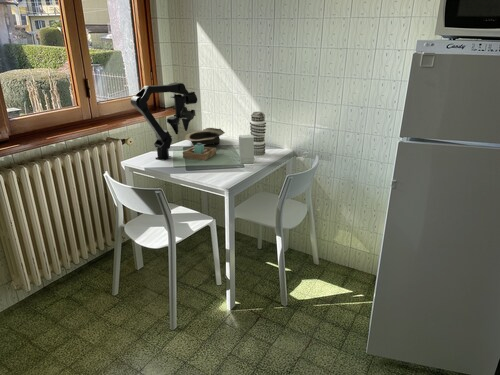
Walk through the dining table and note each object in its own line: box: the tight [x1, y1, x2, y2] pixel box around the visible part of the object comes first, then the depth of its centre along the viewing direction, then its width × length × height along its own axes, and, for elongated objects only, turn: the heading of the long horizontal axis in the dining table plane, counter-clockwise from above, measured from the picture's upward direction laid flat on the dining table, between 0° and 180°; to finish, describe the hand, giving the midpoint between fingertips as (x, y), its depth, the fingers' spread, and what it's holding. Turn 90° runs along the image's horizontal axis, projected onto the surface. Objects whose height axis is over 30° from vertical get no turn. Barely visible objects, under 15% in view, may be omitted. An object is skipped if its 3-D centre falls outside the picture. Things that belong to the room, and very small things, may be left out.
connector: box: [193, 143, 205, 154], centre depth 223 cm, size 4×4×7 cm
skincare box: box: [238, 134, 255, 164], centre depth 211 cm, size 8×6×15 cm
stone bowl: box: [184, 127, 226, 147], centre depth 245 cm, size 25×25×9 cm
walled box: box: [182, 146, 217, 162], centre depth 224 cm, size 14×14×4 cm
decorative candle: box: [249, 111, 267, 158], centre depth 220 cm, size 9×9×25 cm
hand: (181, 132), depth 224 cm, fingers open, 9 cm apart
